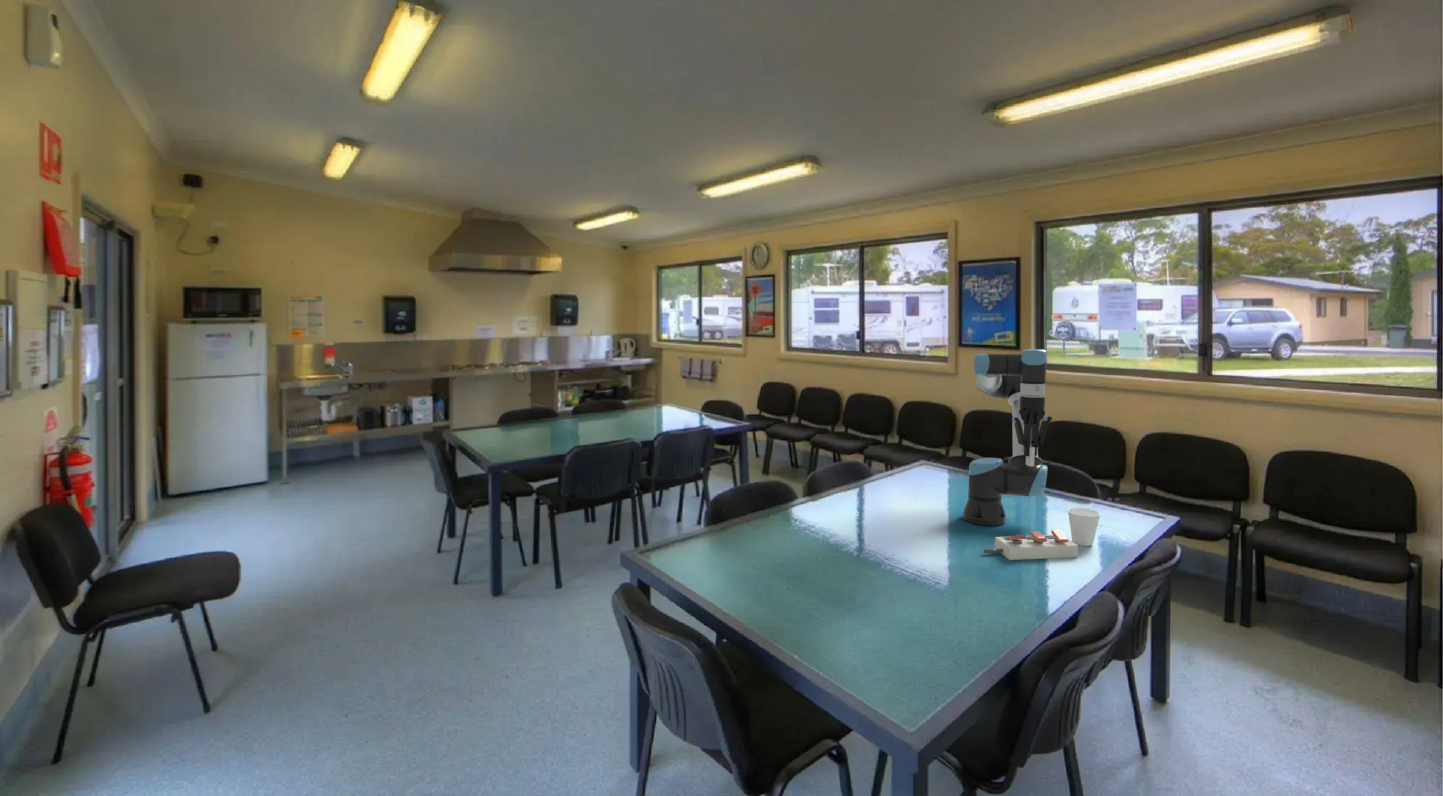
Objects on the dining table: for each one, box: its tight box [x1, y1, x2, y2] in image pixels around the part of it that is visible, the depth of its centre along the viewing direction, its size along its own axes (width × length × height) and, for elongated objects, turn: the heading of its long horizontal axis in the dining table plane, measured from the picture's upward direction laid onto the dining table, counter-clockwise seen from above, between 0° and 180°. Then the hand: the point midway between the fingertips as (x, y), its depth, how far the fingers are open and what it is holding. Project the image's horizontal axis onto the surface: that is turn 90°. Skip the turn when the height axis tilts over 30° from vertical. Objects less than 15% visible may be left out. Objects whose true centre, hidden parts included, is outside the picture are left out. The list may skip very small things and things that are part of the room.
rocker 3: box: [1050, 529, 1070, 543], centre depth 208 cm, size 5×3×1 cm, turn 3°
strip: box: [982, 534, 1079, 561], centre depth 209 cm, size 10×28×5 cm, turn 93°
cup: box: [1066, 507, 1102, 547], centre depth 217 cm, size 10×10×11 cm
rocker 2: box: [1029, 530, 1047, 542], centre depth 207 cm, size 5×3×1 cm, turn 3°
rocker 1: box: [1008, 534, 1026, 540], centre depth 207 cm, size 5×3×1 cm, turn 2°
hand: (1029, 465), depth 217 cm, fingers closed
